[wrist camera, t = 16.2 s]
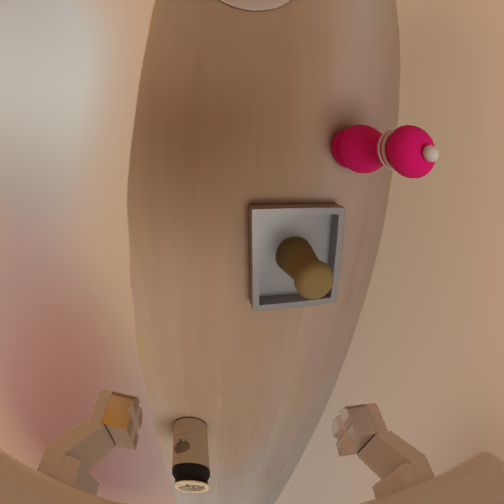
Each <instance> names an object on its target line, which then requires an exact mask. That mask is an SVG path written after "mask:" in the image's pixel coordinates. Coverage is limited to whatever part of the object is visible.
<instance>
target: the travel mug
mask: <svg viewBox="0 0 504 504" xmlns="http://www.w3.org/2000/svg"><path fill="white" fill-rule="evenodd" d="M172 474H173V476H174V478H175V479H176V480H175V483H174V485H173V486H174V487H175V488H176V489H178V490H180V491H184V492H191V493H198V492H204V491H207V490H209V488H210V486H209V485H208V482H207V481H208V479H209V477H210V470H209V456H208V440H207V426H206V424H205V423H204V422H203V421H201V420H199V419H195V418H182V419H179V420H177V421H176V422H175V423H174V437H173V468H172Z"/></svg>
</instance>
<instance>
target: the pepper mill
mask: <svg viewBox="0 0 504 504" xmlns="http://www.w3.org/2000/svg"><path fill="white" fill-rule="evenodd" d="M331 149H332V154H333V157H334V158H335V160H336V161H337V162H338V163H339V164H340V165H341V166H343V167H347V168H349V169H351V170H352V171H355V172H358V173H370V172H373V171H376V170H378V169H379V168H380V167H382V166H383V165H384V166H385V167H386V168H387V169H389V170H393V171H397V172H398V173H399V174H401V175H402V176H405V177H408V178H420V177H423V176H425V175H426V174H427V173H429V172H430V170H431V169H432V168H433V165H434V163H435V161H436V160H437V159H438V156H439V152H438V150H437V148H436V147H435V146H434V143H433V141H432V139H431V137H430V136H429V135H428V134H427V133H426V132H425V131H424V130H422V129H421V128H419V127H416V126H410V125H406V126H401V127H399V128H397V129H396V130H389V131H386V132H385V133H383V134H381V133H380V132H379V131H377V130H376V129H374V128H372V127H369V126H366V125H354V126H351V127H349V128H348V129H346V130H342V131H340V132H338V133H337V134H336V135H335V137H334V138H333V141H332V146H331Z"/></svg>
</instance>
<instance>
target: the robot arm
mask: <svg viewBox="0 0 504 504" xmlns="http://www.w3.org/2000/svg"><path fill="white" fill-rule="evenodd" d="M221 1H222V2H224V3H226V4H228V5H230V6H233V7H236V8H240V9H245V10H253V11H262V10H270V9H275V8H278V7H280V6H283V5H285V4H286V3H288V2H289V1H290V0H221ZM141 423H142V409H141V407H139V399H138V397H135V396H130V395H126V394H121V393H117V392H114V391H110V390H105V389H101V390H100V392H99V394H98V396H97V399H96V401H95V404H94V406H93V410H92V412H91V415H90V417H89V420H87V419H85V420H83V421H82V422H80V423H79V424H77V425H76V426H75V427H73V428H72V429H70V430H68V431H67V432H65V433H64V434H63V435H61V436H60V437H58V438H56V439H55V440H53V441H52V442H50V443H49V444H47V445H46V448H45V450H44V453H43V456H42V458H41V461H40V464H39V467H38V470H35V469H34V468H32V467H30V466H28V465H26V464H24V463H23V462H21V461H19V460H17V459H15V458H14V457H12V456H11V455H9V454H7V453H6V452H4V451H2V450H1V449H0V504H124V503H120V502H117V501H113V500H109V499H106V498H103V497H100V496H97V490H98V486H99V481H98V480H97V478H96V477H95V476H94V475H93V474H92V473H91V472H90V470H91V469H92V468H94V467H95V466H96V465H97V464H98V463H99V462H100V461H101V460H102V459H103V458H104V457H106V456H107V455H108V454H109V453H110V452H111V451H112V450H113V449H114V448H115V447H116V446H119V447H123V448H128V449H133V450H136V446H137V442H138V434H137V430H139V429H140V428H141ZM332 429H333V435H334V437H335V438H337V439H338V442H337V444H336V445H337V449H338V453H339V456H346V455H353V454H357V456H358V457H359V458H360V459H361V460H362V461H363V462H364V463H365V464H366V465H367V466H368V467H369V468H370V469H371V470H372V471H374V472H375V473H376V474H377V475H378V476H379V477H380V478H381V479H382V480H380V481H379V482H378V483H376V484H375V485H374V486H373V491H374V494H375V497H376V499H375V500H371V501H368V502H364V503H361V504H504V462H503V461H502V460H501V459H500V458H498V457H496V456H495V455H493V454H491V453H489V452H486V451H484V452H480V453H478V454H477V455H475V456H473V457H472V458H470V459H468V460H466V461H465V462H463V463H461V464H459V465H457V466H455V467H454V468H452V469H450V470H448V471H446V472H444V473H442V474H439V475H437V476H435V477H434V474H433V472H432V470H431V467H430V465H429V463H428V460H427V458H426V456H425V455H424V454H423V453H421V452H420V451H418V450H417V449H415V448H414V447H412V446H411V445H410V444H408V443H407V442H406V441H404V440H403V439H401V438H400V437H399V436H397V435H396V434H395V433H393V432H392V431H388V429H387V427H386V425H385V422H384V420H383V418H382V415H381V413H380V411H379V409H378V406H377V405H376V404H375V403H371V404H362V405H355V406H347V407H343V408H342V409H341V410H340V415H338V416H337V417H336V418H335V419H334V421H333V426H332Z"/></svg>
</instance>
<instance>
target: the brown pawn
mask: <svg viewBox="0 0 504 504" xmlns="http://www.w3.org/2000/svg"><path fill="white" fill-rule="evenodd" d="M275 256H276V262H277V264H278V266H279V267H280V268H281V269H282V270H283V271H284V272H285V273H287V274H288V275H289V276H290V277H291V278H292V279H293V280H294V285H295V287H296V290H297V291H298V293H299V294H300V295H301V296H303V297H305V298H307V299H319V298H321V297H323V296H325V295H326V294H327V293H328V292H329V291H330V289H331V288H332V285H333V281H334V276H333V273H332V270H331V268H330V267H329V266H328V265H327V264H326V263H325V262H323V261H320V260H319V259H318V258H317V256H316V254H315V252H314V251H313V249H312V247H311V245H310V244H309V243H308V241H307V240H305V239H303V238H302V237H296V236H295V237H289V238H287V239H285V240H284V241H283V242H282V243H281V244H280V245H279V247H278V248H277V251H276V255H275Z"/></svg>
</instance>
